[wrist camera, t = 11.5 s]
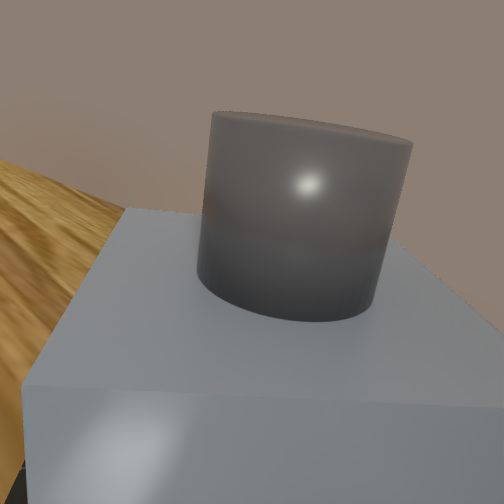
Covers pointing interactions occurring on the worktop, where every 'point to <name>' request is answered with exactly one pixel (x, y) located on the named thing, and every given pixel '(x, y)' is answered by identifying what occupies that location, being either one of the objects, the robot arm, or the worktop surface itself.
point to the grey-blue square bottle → (269, 344)
